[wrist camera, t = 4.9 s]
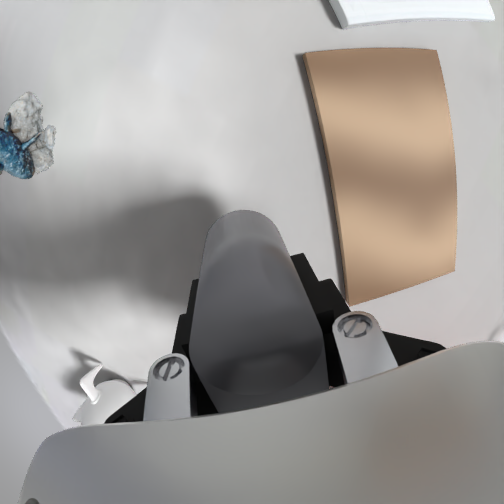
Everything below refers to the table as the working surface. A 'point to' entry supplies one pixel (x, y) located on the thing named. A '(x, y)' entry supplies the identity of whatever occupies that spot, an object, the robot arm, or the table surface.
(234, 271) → the connector
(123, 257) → the table surface
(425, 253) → the wood pad
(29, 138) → the sculpture
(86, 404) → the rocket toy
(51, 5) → the table surface
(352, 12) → the external hard drive
